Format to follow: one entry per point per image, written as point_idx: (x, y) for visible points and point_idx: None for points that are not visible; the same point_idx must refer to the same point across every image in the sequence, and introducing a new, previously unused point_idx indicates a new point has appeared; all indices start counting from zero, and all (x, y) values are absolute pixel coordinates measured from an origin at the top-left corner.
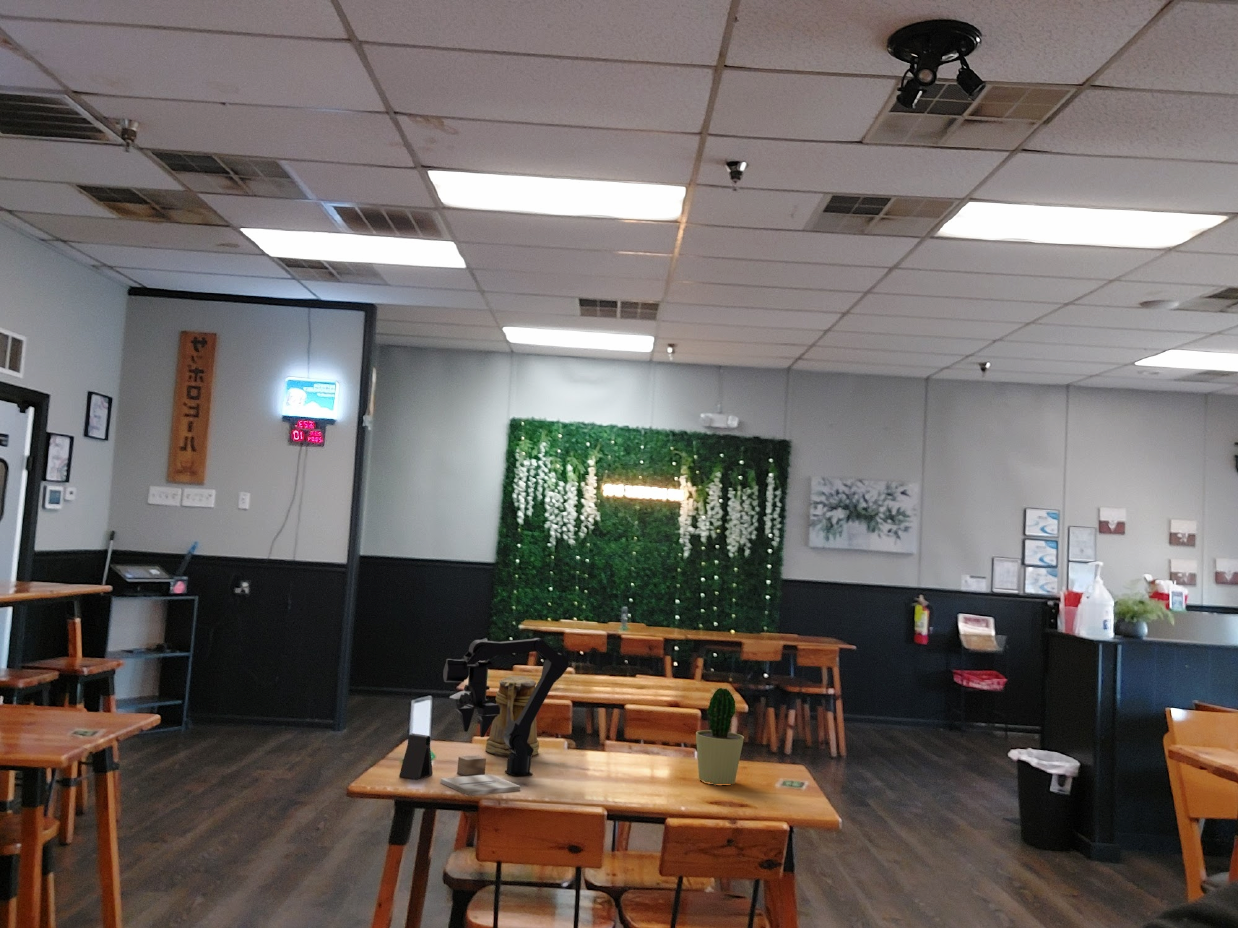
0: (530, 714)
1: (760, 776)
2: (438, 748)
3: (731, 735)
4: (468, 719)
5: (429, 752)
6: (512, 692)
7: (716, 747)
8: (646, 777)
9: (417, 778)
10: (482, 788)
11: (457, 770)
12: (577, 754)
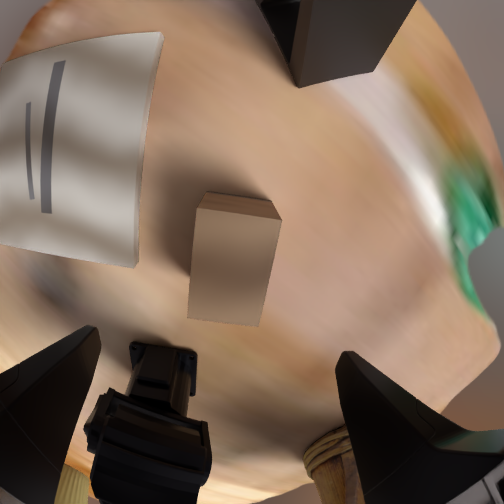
0: None
1: (92, 491)
2: (481, 340)
3: None
4: (368, 444)
5: (305, 11)
6: None
7: None
8: (93, 460)
9: None
10: (1, 114)
11: (271, 202)
12: (269, 486)
